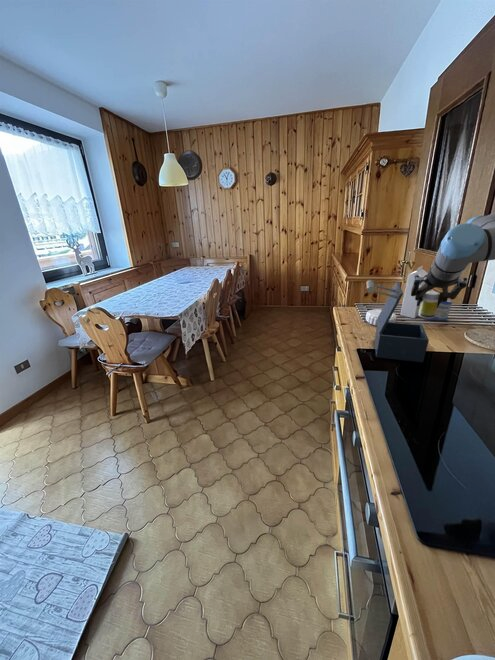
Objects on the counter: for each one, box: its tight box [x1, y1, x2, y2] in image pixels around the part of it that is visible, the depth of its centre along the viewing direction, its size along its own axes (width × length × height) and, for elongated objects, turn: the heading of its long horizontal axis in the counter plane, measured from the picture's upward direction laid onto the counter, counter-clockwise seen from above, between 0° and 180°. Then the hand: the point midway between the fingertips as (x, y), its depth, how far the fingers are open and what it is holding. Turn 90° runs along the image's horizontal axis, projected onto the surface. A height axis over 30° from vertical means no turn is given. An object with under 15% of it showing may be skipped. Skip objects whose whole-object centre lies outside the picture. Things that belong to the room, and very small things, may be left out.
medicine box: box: [426, 298, 453, 322], centre depth 122 cm, size 8×4×9 cm, turn 73°
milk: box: [399, 265, 428, 319], centre depth 123 cm, size 6×6×22 cm
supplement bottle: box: [417, 290, 440, 320], centre depth 95 cm, size 5×5×8 cm
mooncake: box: [365, 308, 397, 327], centre depth 124 cm, size 12×12×4 cm
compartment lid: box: [365, 279, 404, 334], centre depth 97 cm, size 16×12×10 cm
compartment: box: [374, 321, 430, 363], centre depth 101 cm, size 15×12×9 cm
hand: (427, 303), depth 98 cm, fingers closed on supplement bottle, 5 cm apart
